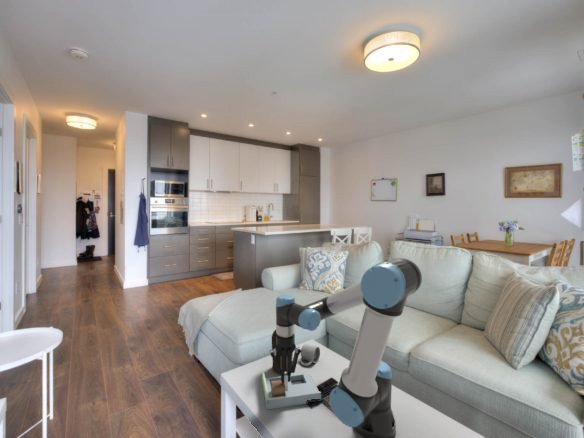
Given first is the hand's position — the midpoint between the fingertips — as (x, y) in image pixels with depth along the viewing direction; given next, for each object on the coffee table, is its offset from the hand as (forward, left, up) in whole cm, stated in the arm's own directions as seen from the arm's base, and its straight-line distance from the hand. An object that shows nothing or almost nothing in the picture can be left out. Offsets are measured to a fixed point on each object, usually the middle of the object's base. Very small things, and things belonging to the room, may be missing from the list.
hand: (285, 389), depth 116 cm
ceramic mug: (+24, -17, -4) cm, 30 cm away
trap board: (+3, -3, -4) cm, 6 cm away
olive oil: (+21, -3, -4) cm, 21 cm away
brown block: (0, +3, -2) cm, 4 cm away
